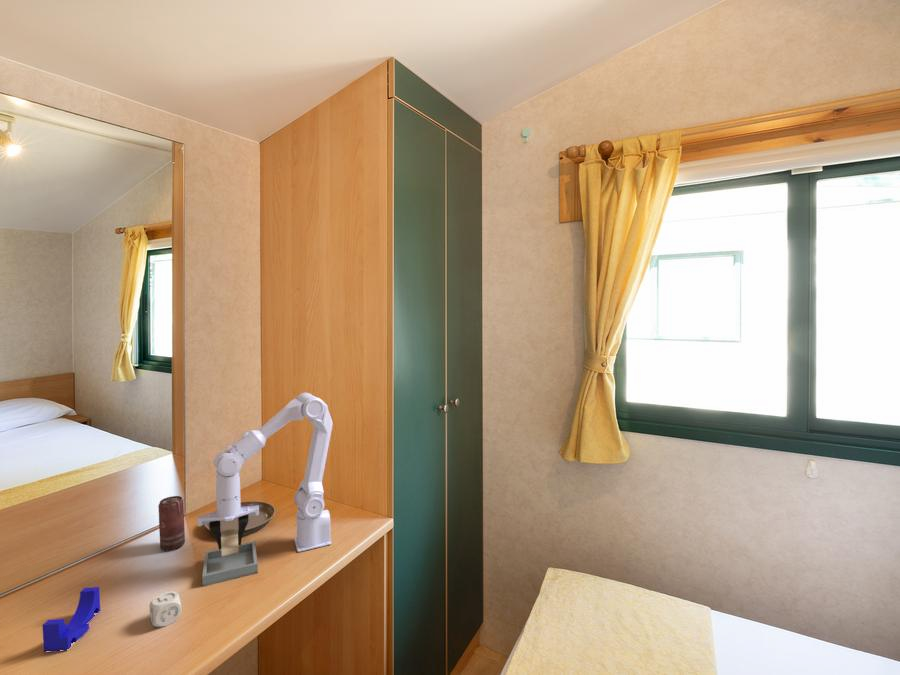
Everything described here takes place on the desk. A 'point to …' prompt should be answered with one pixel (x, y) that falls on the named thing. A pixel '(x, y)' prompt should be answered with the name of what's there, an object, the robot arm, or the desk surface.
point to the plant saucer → (250, 518)
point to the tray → (229, 564)
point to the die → (165, 609)
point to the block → (229, 542)
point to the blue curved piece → (72, 622)
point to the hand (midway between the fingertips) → (229, 545)
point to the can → (171, 523)
